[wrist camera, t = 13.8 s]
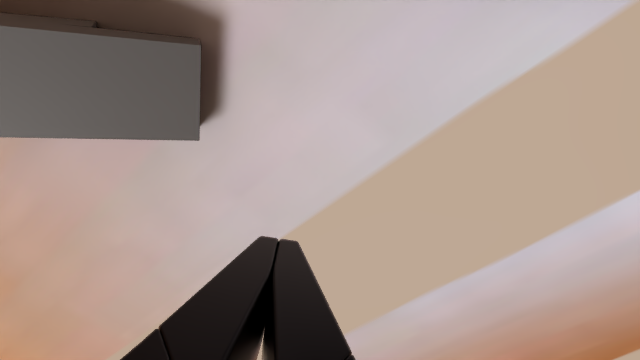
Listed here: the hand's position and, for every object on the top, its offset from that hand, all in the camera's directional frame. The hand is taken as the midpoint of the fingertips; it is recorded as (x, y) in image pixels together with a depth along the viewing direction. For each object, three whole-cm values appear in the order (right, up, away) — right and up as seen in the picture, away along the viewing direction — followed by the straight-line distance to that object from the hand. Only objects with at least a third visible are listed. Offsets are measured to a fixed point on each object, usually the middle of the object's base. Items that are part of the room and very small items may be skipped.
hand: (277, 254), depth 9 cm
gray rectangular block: (-5, +6, +10) cm, 12 cm away
